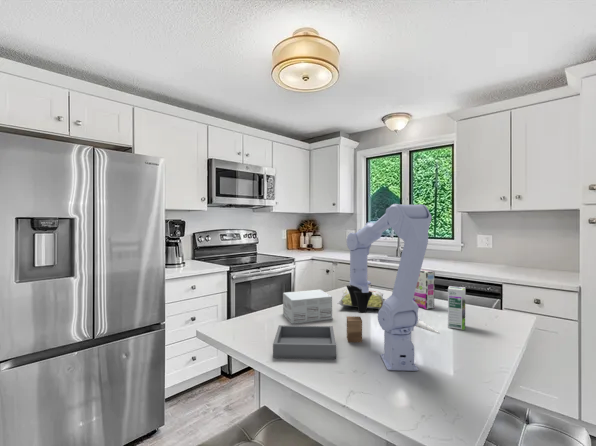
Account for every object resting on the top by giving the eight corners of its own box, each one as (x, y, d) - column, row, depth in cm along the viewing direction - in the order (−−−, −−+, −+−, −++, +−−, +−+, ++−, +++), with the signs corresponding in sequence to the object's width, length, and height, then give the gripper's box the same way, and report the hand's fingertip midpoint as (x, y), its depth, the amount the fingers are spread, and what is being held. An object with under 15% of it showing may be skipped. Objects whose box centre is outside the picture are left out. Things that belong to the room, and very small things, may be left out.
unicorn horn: (431, 336, 112) (431, 322, 112) (386, 316, 133) (386, 304, 133) (441, 334, 114) (441, 320, 114) (395, 315, 135) (395, 303, 135)
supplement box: (320, 310, 141) (320, 288, 141) (332, 319, 129) (332, 296, 129) (282, 314, 136) (282, 291, 136) (291, 324, 124) (291, 299, 123)
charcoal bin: (336, 359, 93) (336, 345, 93) (273, 357, 94) (273, 344, 94) (332, 338, 109) (332, 326, 109) (278, 337, 110) (278, 325, 110)
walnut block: (362, 342, 106) (362, 320, 105) (348, 342, 106) (348, 320, 106) (360, 337, 110) (360, 316, 110) (346, 337, 110) (346, 316, 110)
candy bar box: (435, 308, 143) (435, 271, 143) (426, 310, 141) (426, 272, 141) (415, 302, 153) (416, 267, 153) (407, 303, 151) (408, 268, 151)
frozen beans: (337, 297, 140) (341, 284, 165) (336, 310, 140) (341, 296, 165) (387, 301, 136) (384, 287, 160) (387, 315, 136) (383, 299, 161)
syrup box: (447, 328, 119) (447, 288, 118) (448, 323, 124) (448, 285, 124) (465, 330, 116) (465, 289, 116) (465, 325, 121) (465, 286, 121)
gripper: (378, 272, 102) (377, 315, 103) (363, 265, 117) (363, 303, 117) (356, 272, 102) (356, 316, 102) (344, 265, 116) (344, 303, 116)
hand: (358, 309), depth 109 cm, fingers open, 7 cm apart
